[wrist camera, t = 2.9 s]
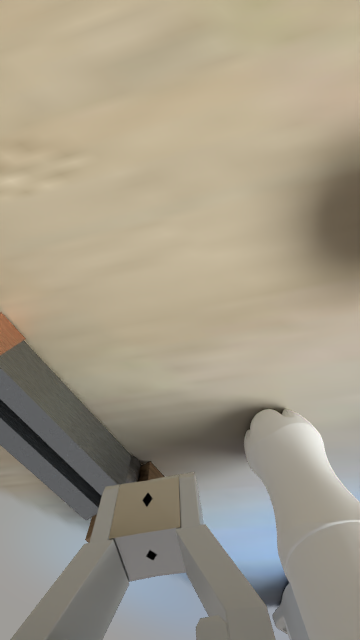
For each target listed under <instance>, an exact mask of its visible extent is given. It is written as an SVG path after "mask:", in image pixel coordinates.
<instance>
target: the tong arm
mask: <svg viewBox="0 0 360 640" xmlns="http://www.w3.org/2000/svg"><path fill="white" fill-rule="evenodd" d="M23 340H25V338H24V337H23V335H22V334H21V333H20V332H19V331H18V330H17V329H16V328H15V327H14V326H13V325H12V324H11V323H10V321H9V320H8V319H7V318H6V317H5V316H4V315H3V314H2V313H0V399H1V400H2V401H3V402H4V403H5V404H6V405H7V406H8V407H9V408H10V409H11V410H12V411H13V412H14V413H16V414H17V415H18V416H19V417H20V418H21V419H22V420H23V421H24V422H25V423H26V424H27V425H28V426H29V427H30V428H31V429H32V430H33V431H34V432H35V433H36V434H37V435H39V436H40V437H41V438H42V439H43V440H44V441H45V442H46V443H47V444H48V445H49V446H50V447H51V448H52V449H53V450H54V451H55V452H56V453H57V454H58V455H59V456H60V457H61V458H63V459H64V460H65V461H66V462H67V463H68V464H69V465H70V466H71V467H72V468H73V469H74V470H75V471H76V472H77V473H78V474H79V475H80V476H81V477H82V478H83V479H84V480H86V481H87V482H88V483H89V484H90V485H91V486H92V487H93V488H94V489H95V490H96V491H97V492H98V493H99V494H100V495H101V496H102V493H103V491H104V489H105V487H106V486H113V485H120V484H126V483H134V482H138V479H139V472H140V462H139V460H138V459H137V458H135V457H133V456H131V455H130V454H129V453H128V452H127V451H126V450H125V449H124V448H123V447H122V446H121V444H120V443H119V442H118V441H117V440H116V439H115V438H114V437H113V436H112V435H111V434H110V433H109V432H108V431H107V429H106V428H105V427H104V426H103V425H102V424H101V423H100V422H99V421H98V420H97V419H96V418H95V417H94V416H93V414H92V413H91V412H90V411H89V410H88V409H87V408H86V407H85V406H84V405H83V404H82V403H81V402H80V401H79V399H78V398H77V397H76V396H75V395H74V394H73V393H72V392H71V391H70V390H69V389H68V388H67V387H66V386H65V384H64V383H63V382H62V381H61V380H60V379H59V378H58V377H57V376H56V375H55V374H54V373H53V372H52V371H51V369H50V368H49V367H48V366H47V365H46V364H45V363H44V362H43V361H42V360H41V359H40V358H39V357H38V356H37V354H36V353H35V352H34V351H33V350H32V349H31V348H30V347H29V346H28V345H27V344H26V343H25V342H24V341H23Z"/></svg>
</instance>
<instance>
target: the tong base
mask: <svg viewBox="0 0 360 640" xmlns="http://www.w3.org/2000/svg"><path fill="white" fill-rule="evenodd" d="M0 445H1V446H2V447H3V448H5V449H6V450H7V451H8V452H9V453H10V454H11V455H12V456H14V457H15V458H16V459H17V460H18V461H19V462H20V463H22V464H23V465H24V466H25V467H26V468H27V469H28V470H30V471H31V472H32V473H33V474H34V475H35V476H36V477H37V478H39V479H40V480H41V481H42V482H43V483H44V484H45V485H47V486H48V487H49V488H50V489H51V490H52V491H53V492H54V493H56V494H57V495H58V496H59V497H60V498H61V499H62V500H64V501H65V502H66V503H67V504H68V505H69V506H70V507H72V508H73V509H74V510H75V511H76V512H77V513H78V514H79V515H81V516H82V517H83V518H84V519H85V520H87V519H89V518H91V517H92V519H91V523H90V526H89V529H88V533H87V536H86V539H85V540H86V541H87V542H88V543H89V542H90V538H91V535H92V531H93V527H94V523H95V520H96V516H97V512H98V508H99V505H100V501H101V497H102V496H101V495H100V494H99V493H98V492H97V491H96V490H95V489H94V488H93V487H92V486H91V485H90V484H89V483H88V482H87V481H86V480H84V479H83V478H82V477H81V476H80V475H79V474H78V473H77V472H76V471H75V470H74V469H73V468H72V467H71V466H70V465H69V464H68V463H67V462H66V461H65V460H64V459H63V458H61V457H60V456H59V455H58V454H57V453H56V452H55V451H54V450H53V449H52V448H51V447H50V446H49V445H48V444H47V443H46V442H45V441H44V440H43V439H42V438H41V437H40V436H39V435H37V434H36V433H35V432H34V431H33V430H32V429H31V428H30V427H29V426H28V425H27V424H26V423H25V422H24V421H23V420H22V419H21V418H20V417H19V416H18V415H17V414H16V413H14V412H13V411H12V410H11V409H10V408H9V407H8V406H7V405H6V404H5V403H4V402H3V401H2V400H1V399H0ZM162 477H164V476H163V475H162V474H161V473H160V471H159V470H158V469H157V468H156V467H155V466H154V465H153V464H152V463H151V462H148V463H147V464H145V465H143V466H141V467H140V472H139V479H138V482H141V481H148V480H151V479H157V478H162Z"/></svg>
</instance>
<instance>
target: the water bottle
mask: <svg viewBox="0 0 360 640" xmlns="http://www.w3.org/2000/svg"><path fill="white" fill-rule="evenodd" d="M244 448H245V454H246V458H247V462H248V464H249V466H250V468H251V469H252V471H253V472H254V473H255V474H256V475H257V476H258V477H259V478H260V479H261V480H262V482H263V483H264V485H265V487H266V489H267V491H268V493H269V496H270V499H271V502H272V505H273V509H274V513H275V519H276V528H277V546H278V554H279V558H280V561H281V564H282V566H283V569H284V572H285V575H286V577H287V579H288V581H289V582H290V584H291V587H292V590H293V593H294V596H295V599H296V602H297V604H298V607H299V610H300V613H301V616H302V619H303V622H304V625H305V628H306V631H307V634H308V637H309V640H360V502H359V501H358V500H357V499H356V498H355V497H354V496H353V495H352V494H351V493H350V492H349V491H348V490H347V489H346V488H345V486H344V485H343V484H342V482H341V481H340V480H339V479H338V477H337V476H336V474H335V473H334V471H333V469H332V468H331V466H330V464H329V461H328V459H327V456H326V453H325V449H324V444H323V440H322V438H321V435H320V434H319V432H318V431H317V430H316V429H315V427H314V426H313V425H312V424H311V423H310V422H309V421H308V420H306V419H305V418H304V417H303V416H301V415H300V414H298V413H296V412H294V411H292V410H288V409H284V410H283V412H282V415H281V414H280V413H279V412H277V411H275V410H272V409H266V410H262V411H260V412H259V413H257V414H256V415H255V417H254V418H253V419H252V421H251V425H250V430H247V431H246V434H245V437H244Z"/></svg>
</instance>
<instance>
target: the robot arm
mask: <svg viewBox="0 0 360 640" xmlns="http://www.w3.org/2000/svg"><path fill="white" fill-rule="evenodd" d="M185 572H186V573H187V576H188V578H189V580H190V581H191V583H192V585H193V587H194V589H195V591H196V593H197V595H198V597H199V598H200V600H201V602H202V604H203V606H204V608H205V610H206V612H207V614H208V616H209V617H205V618H201V619H200V620H199V622H198V624H197V626H196V640H275V636H274V632H273V629H272V625H271V621H270V618H269V614H268V610H267V606H266V605H265V603H264V602H263V601H262V599H261V598H260V597H259V595H258V594H257V593H256V591H255V590H254V589H253V587H252V586H251V585H250V583H249V582H248V581H247V579H246V578H245V577H244V575H243V574H242V573H241V571H240V570H239V569H238V567H237V566H236V565H235V563H234V562H233V561H232V559H231V558H230V557H229V555H228V554H227V553H226V551H225V550H224V549H223V547H222V546H221V545H220V543H219V542H218V541H217V539H216V538H215V537H214V535H213V534H212V533H211V531H210V530H209V529H208V527H207V526H206V525H205V524H204V522H203V514H202V508H201V502H200V496H199V491H198V486H197V481H196V475H195V472H192V473H186V474H180V475H173V476H168V477H162V478H157V479H151V480H148V481H141V482H134V483H126V484H120V485H113V486H106V487H105V489H104V491H103V493H102V497H101V501H100V505H99V508H98V512H97V516H96V520H95V523H94V527H93V531H92V535H91V538H90V542H89V543H87V544H84V545H83V546H82V548H81V549H80V550H79V552H78V553H77V554H76V556H75V557H74V558H73V559H72V561H71V562H70V563H69V565H68V566H67V567H66V568H65V570H64V571H63V572H62V574H61V575H60V576H59V577H58V579H57V580H56V581H55V583H54V584H53V585H52V587H51V588H50V589H49V590H48V592H47V593H46V594H45V596H44V597H43V598H42V599H41V601H40V602H39V604H38V605H37V606H36V607H35V609H34V610H33V611H32V612H31V614H30V615H29V616H28V618H27V619H26V620H25V622H24V623H23V624H22V625H21V627H20V628H19V629H18V631H17V632H16V633H15V634H14V636H13V637H12V639H11V640H102V639H103V637H104V635H105V633H106V631H107V629H108V627H109V625H110V623H111V621H112V618H113V617H114V614H115V612H116V610H117V608H118V606H119V604H120V602H121V600H122V598H123V596H124V594H125V591H126V590H127V588H128V586H129V582H130V581H134V580H139V579H144V578H150V577H155V576H161V575H169V574H177V573H185ZM273 620H274V622H275V625H276V627H277V628H278V629H280V630H281V631H283V632H285V633H286V634H288V635H289V638H290V640H309V637H308V634H307V631H306V628H305V625H304V622H303V619H302V616H301V613H300V610H299V607H298V604H297V602H296V599H295V596H294V593H293V590H292V587H291V584H290V582H289V584H288V585H287V586H286V588H285V590H284V592H283V596H282V602H281V604H280V606H279V607H278V608H277V609H276V610H275V612H274V613H273Z"/></svg>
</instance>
